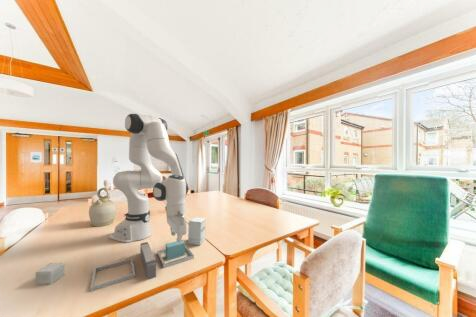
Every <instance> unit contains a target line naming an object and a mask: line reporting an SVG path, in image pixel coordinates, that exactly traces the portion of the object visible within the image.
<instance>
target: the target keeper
mask: <svg viewBox="0 0 476 317" xmlns="http://www.w3.org/2000/svg"><path fill="white" fill-rule="evenodd" d="M126 263H130V268H131V273H130V274H127V275H124V276H121V277H120V276H119V277H118V278H114V279H111V280H108V281H104V282H100V283H98V284H95V283H96V282H95V281H96V274H97V272H98V271H102V270H105V269H109V268H113V267H116V266H120V265H124V264H126ZM135 271H136V270H135V265H134V260H133V257H129V258H125V259H123V260H119V261H115V262H111V263H107V264H104V265H99V266H95V267H93V270H92V276H91V282H90V288H89V290H90V292H93V291H96V290H100V289H102V288H103V289H104V288H106V287H109V286H111V285H114V284H118V283H120V282H121V283H122V282H124V281H127V280H130V279H133V278H136V272H135Z"/></svg>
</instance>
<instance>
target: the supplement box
mask: <svg viewBox="0 0 476 317" xmlns="http://www.w3.org/2000/svg"><path fill="white" fill-rule="evenodd" d="M206 219H207V218H206V217H196V216H194V217H192V218H191V219H189V221H188V234H187V236H188V238H187V239H188V240H187V242H188V243H187V244H188V245H195V246H201V245H202V243H204V241H205V240H206Z"/></svg>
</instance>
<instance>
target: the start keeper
mask: <svg viewBox="0 0 476 317" xmlns="http://www.w3.org/2000/svg"><path fill="white" fill-rule="evenodd" d="M165 249H166V248H164V249H163V248H162V249H160V250H157V251H156V255H157V256H158V258H159V262H160V263H161V266H162V268H167V267H171V266H174V265H177V264H180V263H183V262H186V261H188V260H193V259H194V258H195V255H194V253H193V251H191V250H190V249H189V247H188V246H187V245H186V244H185V252H187V253H188V256H185V257H184V256H183V257H182V258H181V257H180V258H178V259H175V260H172V261H168V262H166V263H165V261H164V259H163V256H162V254H164V253H165Z"/></svg>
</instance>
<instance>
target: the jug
mask: <svg viewBox="0 0 476 317" xmlns="http://www.w3.org/2000/svg"><path fill="white" fill-rule="evenodd" d="M102 191H105V192H106V195H104V196H102V195H101V192H102ZM110 194H111V193H110V190H109V189H108V188H107V187H100V188H99V189H97V191H96V196H97V198H98V199H96V201H95V202H93V203H92V204H91V205H90V207H89V209H88V216H89V220H90V224H91V226H92V227H105V226H108V225H111V224H113V223H114V221H115V217H116V213H117V205H116V203H115V202H114V201H113V200H111V196H110Z"/></svg>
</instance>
